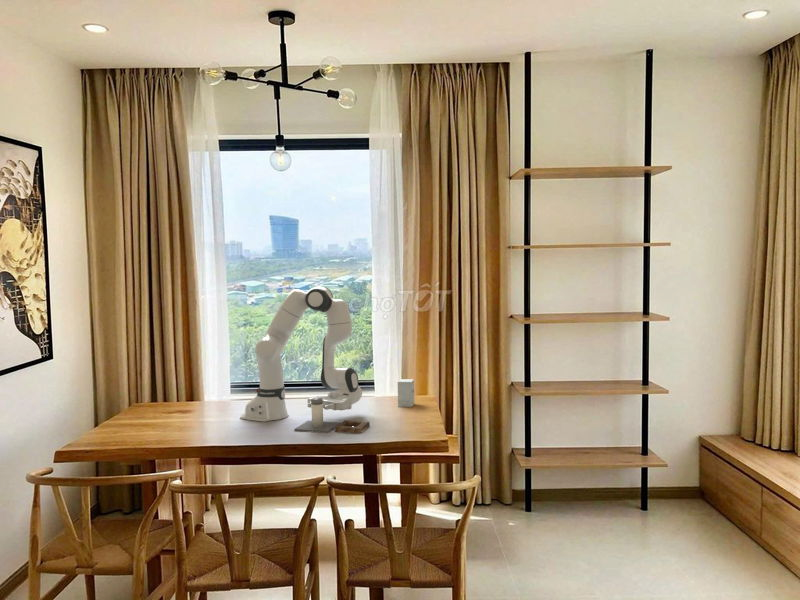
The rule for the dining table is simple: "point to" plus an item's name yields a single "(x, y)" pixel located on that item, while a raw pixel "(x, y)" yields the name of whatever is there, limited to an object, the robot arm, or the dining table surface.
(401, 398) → the supplement box
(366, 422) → the walnut socket
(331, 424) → the grey mat
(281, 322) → the robot arm
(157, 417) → the dining table surface
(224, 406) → the dining table surface
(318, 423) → the cream canister
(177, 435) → the dining table surface
